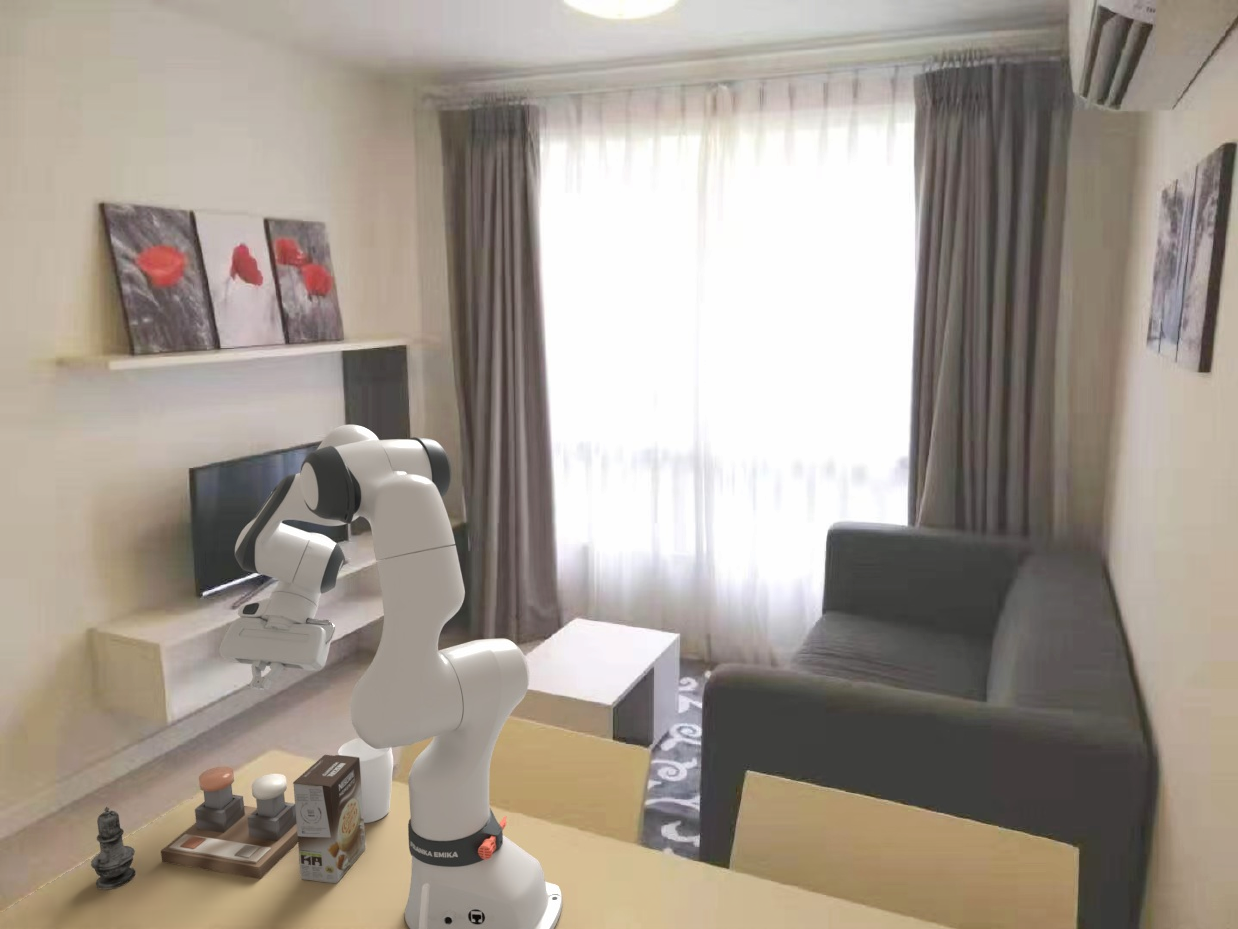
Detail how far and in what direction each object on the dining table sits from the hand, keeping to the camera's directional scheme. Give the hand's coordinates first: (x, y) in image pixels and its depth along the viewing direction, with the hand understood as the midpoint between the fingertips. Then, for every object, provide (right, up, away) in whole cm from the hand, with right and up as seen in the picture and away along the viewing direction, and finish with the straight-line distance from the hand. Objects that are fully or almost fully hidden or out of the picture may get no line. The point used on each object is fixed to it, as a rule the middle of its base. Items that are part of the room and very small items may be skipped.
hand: (258, 688), depth 155 cm
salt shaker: (-14, -24, -20) cm, 34 cm away
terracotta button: (-3, -17, -9) cm, 19 cm away
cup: (+20, -21, -3) cm, 29 cm away
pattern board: (+2, -22, -11) cm, 25 cm away
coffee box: (+19, -23, -17) cm, 34 cm away
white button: (+7, -17, -12) cm, 22 cm away
